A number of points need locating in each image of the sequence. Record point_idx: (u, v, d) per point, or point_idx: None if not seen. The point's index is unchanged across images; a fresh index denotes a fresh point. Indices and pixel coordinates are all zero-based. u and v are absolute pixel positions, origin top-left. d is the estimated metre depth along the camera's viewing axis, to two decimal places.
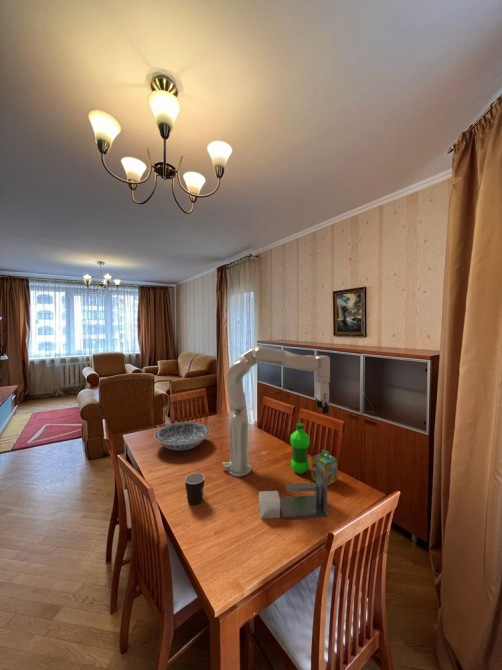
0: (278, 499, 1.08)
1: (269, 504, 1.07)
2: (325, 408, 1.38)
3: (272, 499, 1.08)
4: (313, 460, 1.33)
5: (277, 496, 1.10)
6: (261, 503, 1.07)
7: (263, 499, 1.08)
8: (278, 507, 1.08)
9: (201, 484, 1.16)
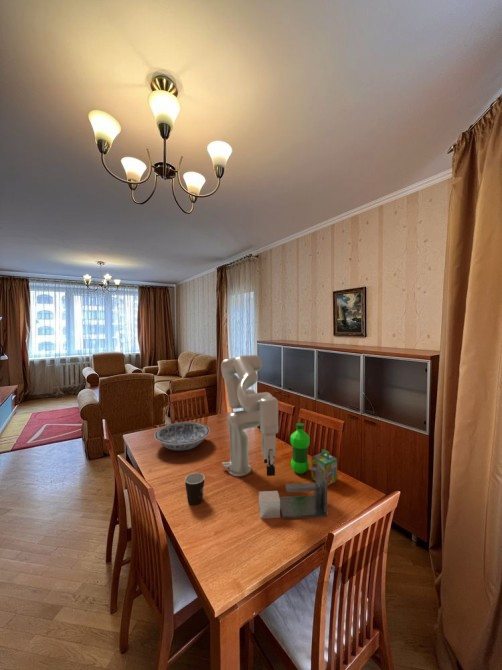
0: (278, 499, 1.08)
1: (269, 504, 1.07)
2: (270, 469, 1.04)
3: (272, 499, 1.08)
4: (313, 460, 1.33)
5: (277, 496, 1.10)
6: (261, 503, 1.07)
7: (263, 499, 1.08)
8: (278, 507, 1.08)
9: (201, 484, 1.16)
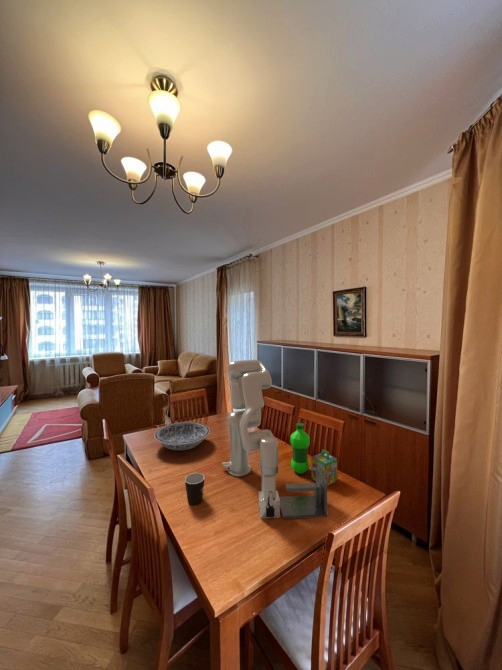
0: (278, 499, 1.08)
1: None
2: (269, 511, 1.06)
3: None
4: (313, 460, 1.33)
5: (277, 496, 1.10)
6: (261, 503, 1.07)
7: None
8: (278, 507, 1.07)
9: (201, 484, 1.16)
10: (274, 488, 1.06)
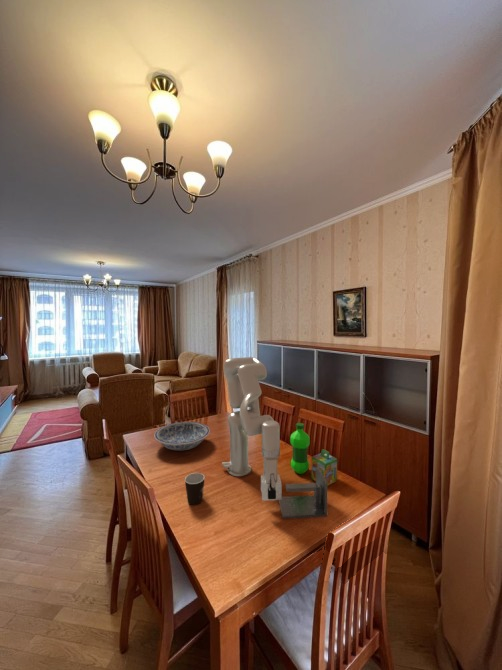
0: (280, 482, 1.10)
1: None
2: (271, 493, 1.08)
3: None
4: (313, 460, 1.33)
5: (279, 479, 1.12)
6: (263, 485, 1.09)
7: (265, 482, 1.10)
8: (279, 490, 1.09)
9: (201, 484, 1.16)
10: (276, 470, 1.08)
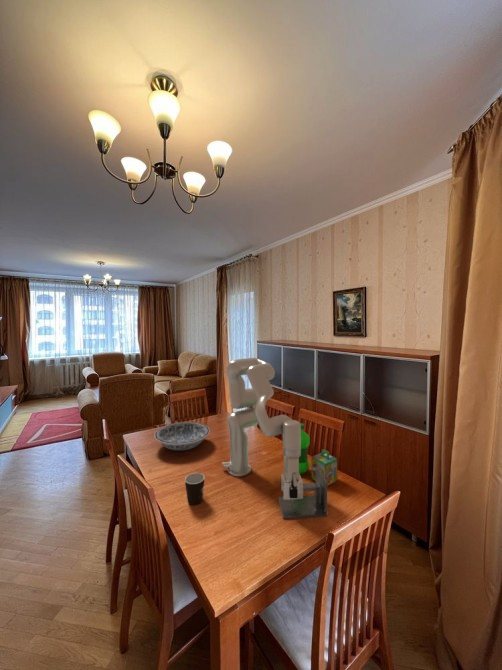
0: (301, 481, 1.10)
1: None
2: (293, 492, 1.08)
3: None
4: (313, 460, 1.33)
5: (300, 478, 1.12)
6: (284, 484, 1.09)
7: (286, 481, 1.11)
8: (301, 489, 1.10)
9: (201, 484, 1.16)
10: (298, 470, 1.08)
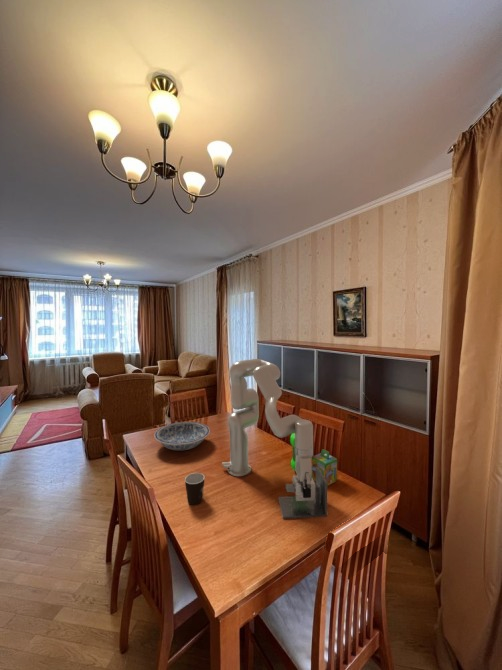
0: (313, 482, 1.11)
1: None
2: (306, 492, 1.07)
3: None
4: (313, 460, 1.33)
5: (311, 480, 1.13)
6: (297, 486, 1.10)
7: (298, 482, 1.11)
8: (313, 490, 1.10)
9: (201, 484, 1.16)
10: (310, 469, 1.08)
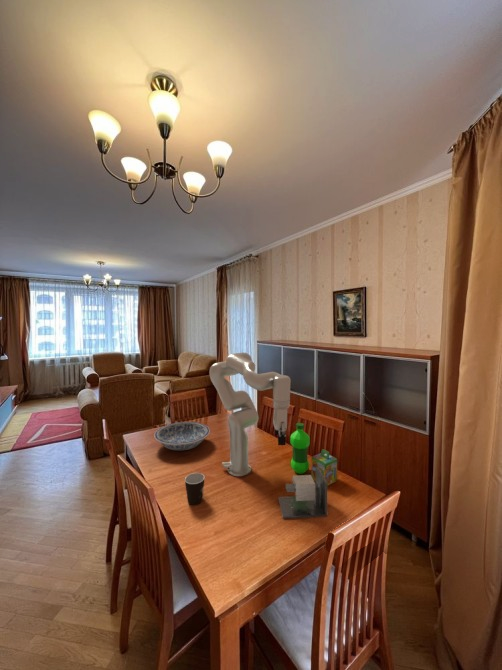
0: (313, 482, 1.11)
1: (304, 487, 1.10)
2: (281, 439, 1.16)
3: (307, 482, 1.11)
4: (313, 460, 1.33)
5: (311, 480, 1.13)
6: (297, 486, 1.10)
7: (298, 482, 1.11)
8: (313, 490, 1.10)
9: (201, 484, 1.16)
10: (286, 419, 1.16)
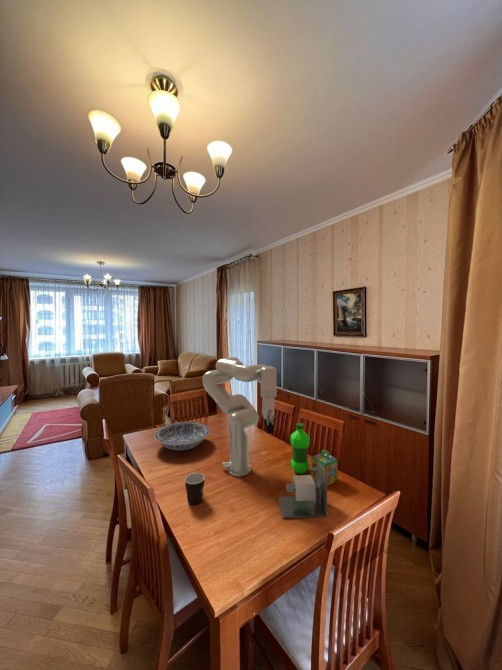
0: (313, 482, 1.11)
1: (304, 487, 1.10)
2: (269, 427, 1.21)
3: (307, 482, 1.11)
4: (313, 460, 1.33)
5: (311, 480, 1.13)
6: (297, 486, 1.10)
7: (298, 482, 1.11)
8: (313, 490, 1.10)
9: (201, 484, 1.16)
10: (273, 408, 1.22)
